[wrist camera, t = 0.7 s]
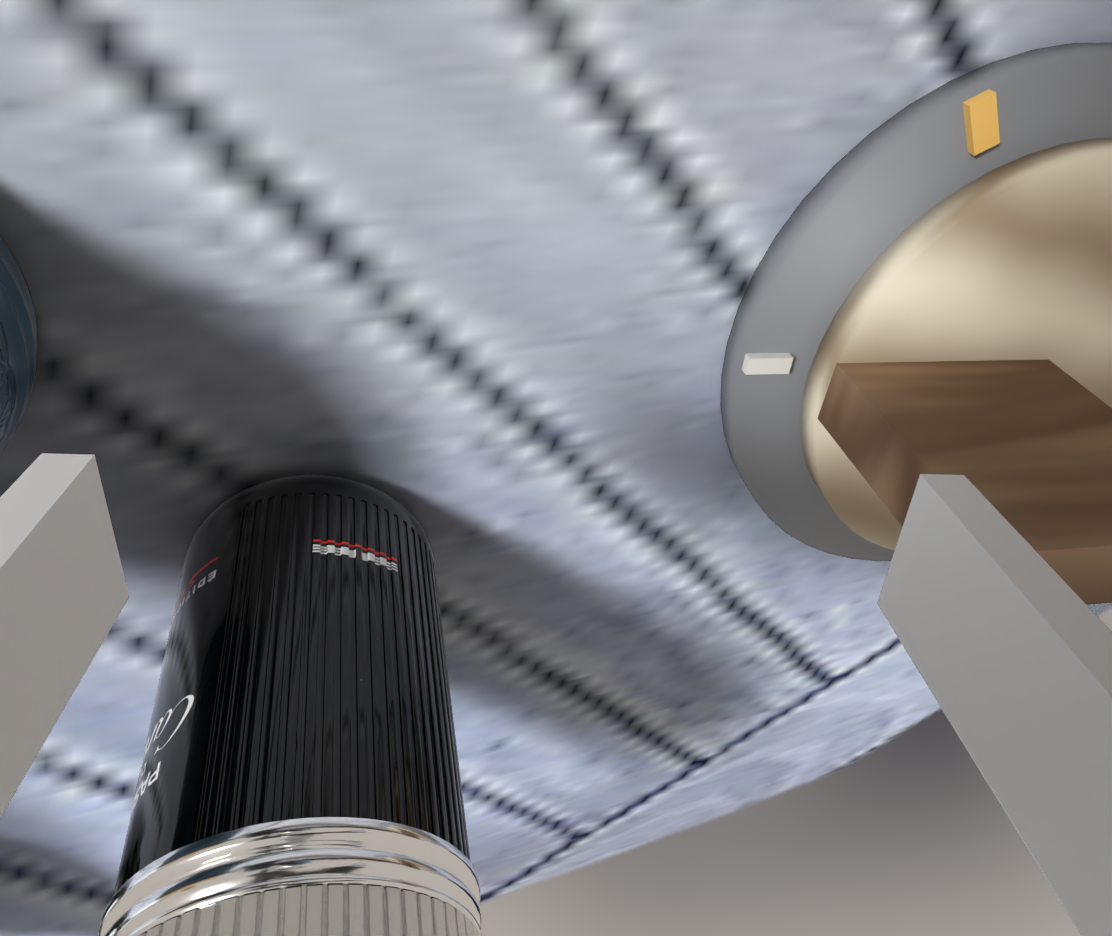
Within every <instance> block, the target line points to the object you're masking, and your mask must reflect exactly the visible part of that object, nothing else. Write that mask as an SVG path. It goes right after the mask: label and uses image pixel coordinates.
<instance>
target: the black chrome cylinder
mask: <svg viewBox="0 0 1112 936" xmlns="http://www.w3.org/2000/svg"><path fill="white" fill-rule="evenodd" d="M479 904H480V886H479V881H478V877H477V874H476V872H475V869H474V867H473V865H472V864H471V862H470V854H469V845H468V837H467V829H466V821H465V812H464V804H463V796H462V787H461V779H460V771H459V763H458V754H457V746H456V738H455V729H454V721H453V713H452V705H451V696H450V688H449V680H448V671H447V663H446V655H445V647H444V638H443V630H442V622H441V613H440V605H439V597H438V589H437V580H436V572H435V564H434V557H433V552H432V549H431V546H430V543H429V540H428V538H427V536H426V534H425V531H424V530H423V528H422V527H421V525H420V523H419V522H418V521H417V520H416V518H415V517H414V516H413V515H412V514H411V513H410V512H409V511H408V510H407V509H406V508H405V507H404V506H402V505H401V504H400V503H399V502H397V501H396V500H395V499H393V498H392V497H390V496H389V495H387V494H386V493H384V492H382V491H380V490H378V489H376V488H374V487H371V486H369V485H367V484H364V483H361V482H358V481H354V480H350V479H346V478H341V477H334V476H325V475H299V476H290V477H283V478H278V479H274V480H270V481H267V482H263V483H260V484H257V485H255V486H252V487H250V488H248V489H246V490H244V491H242V492H240V493H238V494H236V495H235V496H233V497H232V498H230V499H228V500H227V501H225V502H224V503H223V504H221V505H220V506H219V507H218V508H216V509H215V510H214V511H213V512H212V513H211V514H210V515H209V516H208V517H207V518H206V519H205V520H204V522H203V523H202V524H201V525H200V527H199V528H198V530H197V532H196V533H195V535H194V537H193V539H192V541H191V544H190V546H189V548H188V551H187V554H186V557H185V562H184V567H183V571H182V576H181V581H180V585H179V590H178V595H177V599H176V604H175V609H174V614H173V618H172V623H171V628H170V632H169V637H168V642H167V646H166V651H165V656H164V661H163V665H162V670H161V675H160V679H159V684H158V689H157V694H156V698H155V703H154V708H153V712H152V717H151V722H150V726H149V731H148V736H147V741H146V745H145V750H144V755H143V759H142V764H141V769H140V773H139V778H138V783H137V788H136V792H135V797H134V802H133V806H132V811H131V816H130V821H129V825H128V830H127V835H126V839H125V844H124V849H123V853H122V858H121V863H120V868H119V872H118V877H117V882H116V886H115V891H114V896H113V897H112V898H111V900H110V901H109V903H108V905H107V907H106V909H105V911H104V913H103V916H102V919H101V922H100V925H99V933H98V936H482V934H481V913H480V909H479Z"/></svg>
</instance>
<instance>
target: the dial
mask: <svg viewBox="0 0 1112 936" xmlns="http://www.w3.org/2000/svg"><path fill="white" fill-rule="evenodd" d="M800 433H801V445H802V450H803V454H804V459H805V463H806V466H807V468H808V470H809V473H810V475H811V477H812V479H813V481H814V483H815V484H816V486H817V487H818V489H819V490H820V492H821V493H822V494H823V496H824V497H825V499H826V500H827V502H828V503H829V504H830V506H831V507H832V509H833V510H834V512H835V513H836V514H837V516H838V517H839V519H840V520H841V521H843V522H844V523H845V524H846V525H847V526H848V527H849V528H850V529H851V530H852V531H853V532H855V533H856V534H858V535H859V536H861V537H863V538H864V539H866V540H867V541H869V542H872V543H874V544H877V545H879V546H881V547H884V548H886V549H891V550H895V548H896V545H897V542H898V539H899V536H900V533H901V530H902V527H903V524H904V521H905V518H906V515H907V512H908V509H909V506H910V503H911V500H912V497H913V494H914V491H915V488H916V485H917V482H918V479H919V476H920V474H942V475H964V476H965V477H966V478H967V479H968V480H969V481H970V482H971V483H972V484H973V485H974V486H975V487H976V488H977V489H978V490H979V491H980V492H981V494H982V495H983V496H984V497H985V498H986V499H987V500H988V501H989V502H990V503H991V504H992V505H993V506H994V507H995V508H996V509H997V511H998V512H999V513H1000V514H1001V515H1002V516H1003V517H1004V518H1005V519H1006V520H1007V521H1008V522H1009V523H1010V524H1011V525H1012V526H1013V527H1014V529H1015V530H1016V531H1017V532H1018V533H1019V534H1020V535H1021V536H1022V537H1023V538H1024V539H1025V540H1026V541H1027V542H1028V543H1029V544H1030V545H1031V547H1032V548H1033V549H1034V550H1035V551H1036V552H1037V553H1038V554H1039V555H1040V556H1041V557H1042V558H1043V559H1044V560H1045V561H1046V562H1047V563H1048V565H1049V566H1050V567H1051V568H1052V569H1053V570H1054V571H1055V572H1056V573H1057V574H1058V575H1059V576H1060V577H1061V578H1062V579H1063V580H1064V581H1065V583H1066V584H1067V585H1068V586H1069V587H1070V588H1071V589H1072V590H1073V591H1074V592H1075V593H1076V594H1077V595H1078V596H1079V597H1080V598H1081V599H1082V601H1083V602H1084V603H1085V604H1086V605H1088V604H1098V603H1109V602H1112V138H1093V139H1087V140H1081V141H1076V142H1070V143H1064V144H1060V145H1057V146H1053V147H1050V148H1047V149H1043V150H1040V151H1037V152H1034V153H1030V154H1028V155H1025V156H1023V157H1021V158H1018V159H1016V160H1014V161H1011V162H1009V163H1007V164H1005V165H1002V166H1000V167H998V168H995V169H993V170H992V171H990V172H988V173H986V174H985V175H983V176H981V177H979V178H977V179H976V180H974V181H972V182H970V183H969V184H967V185H965V186H963V187H962V188H960V189H959V190H957V191H956V192H954V193H953V194H952V195H950V196H949V197H947V198H946V199H944V200H943V201H941V202H940V203H939V204H937V205H936V206H934V207H933V208H931V209H930V210H929V211H928V212H927V213H925V214H924V215H923V216H922V217H921V218H919V219H918V220H917V221H916V222H915V223H914V224H912V225H911V226H910V227H909V228H908V229H906V230H905V231H904V232H903V233H902V234H901V235H900V236H899V237H898V238H897V239H896V240H895V241H894V242H893V243H892V244H891V245H890V246H889V247H888V248H887V249H886V250H885V251H884V252H883V253H882V254H881V255H880V256H879V257H878V258H877V259H876V260H875V261H874V263H873V264H872V265H871V266H870V268H869V269H868V270H867V271H866V272H865V274H864V275H863V276H862V277H861V279H860V280H859V281H858V282H857V283H856V285H855V286H854V287H853V289H852V290H851V292H850V293H849V295H848V296H847V298H846V299H845V301H844V302H843V304H842V305H841V307H840V308H839V310H838V311H837V313H836V314H835V316H834V317H833V319H832V321H831V323H830V325H829V327H828V329H827V331H826V333H825V335H824V336H823V338H822V340H821V342H820V344H819V347H818V349H817V352H816V354H815V357H814V360H813V362H812V365H811V367H810V370H809V373H808V377H807V381H806V385H805V389H804V393H803V398H802V407H801V416H800Z"/></svg>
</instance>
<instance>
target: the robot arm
mask: <svg viewBox="0 0 1112 936" xmlns="http://www.w3.org/2000/svg"><path fill="white" fill-rule="evenodd" d="M128 598H129V593H128V589H127V585H126V581H125V577H124V573H123V569H122V565H121V561H120V556H119V552H118V548H117V544H116V540H115V536H114V532H113V528H112V524H111V520H110V516H109V511H108V507H107V503H106V499H105V495H104V491H103V487H102V483H101V479H100V475H99V471H98V467H97V462H96V458H95V455H91V454H48V453H41V455H40V456H39V457H38V458H37V459H36V460H35V461H34V462H33V463H32V464H31V465H30V466H29V467H28V468H27V469H26V470H25V472H24V473H23V474H22V475H21V476H20V477H19V478H18V479H17V480H16V481H15V482H14V483H13V484H12V485H11V486H10V487H9V489H8V490H7V491H6V492H5V493H4V494H3V495H2V496H1V497H0V818H1V816H2V814H3V813H4V811H5V809H6V807H7V806H8V804H9V802H10V801H11V799H12V797H13V795H14V794H15V792H16V790H17V789H18V787H19V785H20V783H21V782H22V780H23V778H24V777H25V775H26V773H27V771H28V770H29V768H30V766H31V765H32V763H33V761H34V759H35V758H36V756H37V754H38V753H39V751H40V749H41V747H42V746H43V744H44V742H45V741H46V739H47V737H48V735H49V734H50V732H51V730H52V729H53V727H54V725H55V723H56V722H57V720H58V718H59V716H60V715H61V713H62V711H63V710H64V708H65V706H66V704H67V703H68V701H69V699H70V698H71V696H72V694H73V692H74V691H75V689H76V687H77V686H78V684H79V682H80V680H81V679H82V677H83V675H84V674H85V672H86V670H87V668H88V667H89V665H90V663H91V662H92V660H93V658H94V656H95V655H96V653H97V651H98V650H99V648H100V646H101V644H102V643H103V641H104V639H105V638H106V636H107V634H108V632H109V631H110V629H111V627H112V626H113V624H114V622H115V620H116V619H117V617H118V615H119V614H120V612H121V610H122V608H123V607H124V605H125V603H126V602H127V600H128ZM877 604H878V606H879V607H880V609H881V610H882V612H883V614H884V615H885V617H886V619H887V620H888V622H889V623H890V625H891V627H892V628H893V630H894V632H895V633H896V635H897V637H898V638H899V640H900V641H901V643H902V645H903V646H904V648H905V650H906V651H907V653H908V654H909V656H910V658H911V659H912V661H913V663H914V664H915V666H916V668H917V669H918V671H919V672H920V674H921V676H922V677H923V679H924V681H925V682H926V684H927V685H928V687H929V689H930V690H931V692H932V694H933V695H934V697H935V699H936V700H937V702H938V703H939V705H940V707H941V708H942V710H943V711H944V713H945V715H946V716H947V718H948V720H949V721H950V723H951V725H952V726H953V728H954V730H955V731H956V733H957V734H958V736H959V738H960V739H961V741H962V742H963V744H964V746H965V747H966V749H967V751H968V752H969V754H970V756H971V757H972V759H973V761H974V762H975V764H976V765H977V767H978V769H979V770H980V772H981V774H982V775H983V777H984V778H985V780H986V782H987V783H988V785H989V787H990V788H991V790H992V792H993V793H994V795H995V796H996V798H997V800H998V801H999V803H1000V805H1001V806H1002V808H1003V809H1004V811H1005V813H1006V814H1007V816H1008V818H1009V819H1010V821H1011V823H1012V824H1013V826H1014V827H1015V829H1016V831H1017V832H1018V834H1019V836H1020V837H1021V839H1022V840H1023V842H1024V844H1025V845H1026V847H1027V849H1028V850H1029V852H1030V853H1031V855H1032V857H1033V858H1034V860H1035V862H1036V863H1037V865H1038V867H1039V868H1040V870H1041V871H1042V873H1043V875H1044V876H1045V878H1046V880H1047V881H1048V883H1049V885H1050V886H1051V888H1052V889H1053V891H1054V892H1055V894H1056V896H1057V898H1058V899H1059V901H1060V902H1061V904H1062V906H1063V907H1064V909H1065V910H1066V912H1067V914H1068V916H1069V917H1070V919H1071V920H1072V922H1073V924H1074V925H1075V927H1076V929H1077V930H1078V932H1079V933H1080V935H1081V936H1112V631H1111V630H1110V629H1109V628H1108V627H1107V626H1106V625H1105V624H1104V623H1103V622H1102V621H1101V620H1100V619H1099V617H1098V616H1097V615H1096V614H1095V613H1094V612H1093V611H1092V610H1091V609H1090V608H1089V607H1088V606H1087V605H1086V604H1085V603H1084V602H1083V601H1082V599H1081V598H1080V597H1079V596H1078V595H1077V594H1076V593H1075V592H1074V591H1073V590H1072V589H1071V588H1070V587H1069V586H1068V585H1067V584H1066V583H1065V581H1064V580H1063V579H1062V578H1061V577H1060V576H1059V575H1058V574H1057V573H1056V572H1055V571H1054V570H1053V569H1052V568H1051V567H1050V566H1049V565H1048V563H1047V562H1046V561H1045V560H1044V559H1043V558H1042V557H1041V556H1040V555H1039V554H1038V553H1037V552H1036V551H1035V550H1034V549H1033V548H1032V547H1031V545H1030V544H1029V543H1028V542H1027V541H1026V540H1025V539H1024V538H1023V537H1022V536H1021V535H1020V534H1019V533H1018V532H1017V531H1016V530H1015V529H1014V527H1013V526H1012V525H1011V524H1010V523H1009V522H1008V521H1007V520H1006V519H1005V518H1004V517H1003V516H1002V515H1001V514H1000V513H999V512H998V511H997V509H996V508H995V507H994V506H993V505H992V504H991V503H990V502H989V501H988V500H987V499H986V498H985V497H984V496H983V495H982V494H981V492H980V491H979V490H978V489H977V488H976V487H975V486H974V485H973V484H972V483H971V482H970V481H969V480H968V479H967V478H966V477H965V476H964V475H942V474H920V476H919V479H918V482H917V485H916V488H915V491H914V494H913V497H912V500H911V503H910V506H909V509H908V512H907V515H906V518H905V521H904V524H903V527H902V530H901V533H900V536H899V539H898V542H897V545H896V548H895V551H894V554H893V557H892V560H891V563H890V566H889V569H888V572H887V575H886V578H885V581H884V584H883V587H882V590H881V593H880V596H879V599H878V602H877Z"/></svg>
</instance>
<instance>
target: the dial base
mask: <svg viewBox="0 0 1112 936" xmlns="http://www.w3.org/2000/svg"><path fill="white" fill-rule="evenodd" d="M1093 138H1112V43H1072V44H1066V45H1059V46H1053V47H1047V48H1041V49H1035V50H1031V51H1028V52H1025V53H1021V54H1018V55H1015V56H1012V57H1008V58H1005V59H1002V60H999V61H995V62H992V63H990V64H987V65H985V66H983V67H981V68H978V69H976V70H974V71H972V72H969V73H967V74H965V75H963V76H960V77H958V78H956V79H954V80H951V81H949V82H948V83H946V84H944V85H942V86H941V87H939V88H937V89H936V90H934V91H932V92H930V93H929V94H927V95H925V96H924V97H922V98H920V99H919V100H917V101H915V102H913V103H912V104H910V105H908V106H907V107H906V108H904V109H903V110H901V111H900V112H899V113H897V114H896V115H895V116H893V117H892V118H891V119H889V120H888V121H886V122H885V123H884V124H882V125H881V126H880V127H878V128H877V129H876V130H874V131H873V132H871V133H870V134H869V135H868V136H867V137H866V138H864V139H863V140H862V141H861V142H860V143H859V144H858V145H857V146H856V147H854V148H853V149H852V150H851V151H850V152H849V153H848V154H847V155H846V156H844V157H843V158H842V159H841V160H840V161H839V162H838V163H837V164H836V165H834V166H833V168H832V169H831V170H830V171H829V172H828V173H827V174H826V175H825V176H824V177H823V178H822V180H821V181H820V182H819V183H818V184H817V185H816V186H815V187H814V188H813V189H812V191H811V192H810V193H809V194H808V195H807V196H806V197H805V198H804V199H803V200H802V202H801V203H800V204H799V206H798V207H797V209H796V210H795V211H794V213H793V214H792V215H791V217H790V218H789V219H788V221H787V222H786V223H785V225H784V226H783V227H782V229H781V230H780V231H779V233H778V234H777V235H776V237H775V239H774V240H773V242H772V244H771V245H770V247H769V249H768V250H767V252H766V254H765V255H764V257H763V259H762V261H761V262H760V264H759V266H758V267H757V269H756V271H755V272H754V275H753V277H752V279H751V281H750V283H749V286H748V288H747V290H746V292H745V294H744V297H743V299H742V301H741V303H740V305H739V308H738V311H737V314H736V317H735V320H734V323H733V326H732V329H731V333H730V336H729V339H728V342H727V347H726V353H725V359H724V364H723V370H722V377H721V413H722V422H723V430H724V435H725V438H726V441H727V445H728V448H729V451H730V455H731V458H732V460H733V462H734V463H735V465H736V467H737V469H738V471H739V473H740V475H741V477H742V479H743V481H744V482H745V484H746V486H747V487H748V489H749V491H750V492H751V494H752V496H753V497H754V499H755V500H756V502H757V503H758V504H759V506H760V507H761V508H762V509H763V511H764V512H765V513H766V514H767V516H768V517H769V518H770V519H771V520H772V521H773V522H774V523H776V524H777V525H778V526H779V527H780V528H781V529H783V530H784V531H785V532H786V533H787V534H789V535H791V536H793V537H794V538H796V539H798V540H799V541H801V542H803V543H804V544H806V545H808V546H811V547H814V548H816V549H819V550H821V551H824V552H826V553H829V554H834V555H838V556H843V557H847V558H851V559H861V560H872V561H891V560H892V557H893V554H894V551H895V550H891V549H886V548H884V547H881V546H879V545H877V544H874V543H872V542H869V541H867V540H866V539H864V538H863V537H861V536H859V535H858V534H856V533H855V532H853V531H852V530H851V529H850V528H849V527H848V526H847V525H846V524H845V523H844V522H843V521H841V520H840V519H839V517H838V516H837V514H836V513H835V512H834V510H833V509H832V507H831V506H830V504H829V503H828V502H827V500H826V499H825V497H824V496H823V494H822V493H821V492H820V490H819V489H818V487H817V486H816V484H815V483H814V481H813V479H812V477H811V475H810V473H809V470H808V468H807V466H806V463H805V459H804V454H803V450H802V445H801V433H800V416H801V407H802V398H803V393H804V389H805V385H806V381H807V377H808V373H809V370H810V367H811V365H812V362H813V360H814V357H815V354H816V352H817V349H818V347H819V344H820V342H821V340H822V338H823V336H824V335H825V333H826V331H827V329H828V327H829V325H830V323H831V321H832V319H833V317H834V316H835V314H836V313H837V311H838V310H839V308H840V307H841V305H842V304H843V302H844V301H845V299H846V298H847V296H848V295H849V293H850V292H851V290H852V289H853V287H854V286H855V285H856V283H857V282H858V281H859V280H860V279H861V277H862V276H863V275H864V274H865V272H866V271H867V270H868V269H869V268H870V266H871V265H872V264H873V263H874V261H875V260H876V259H877V258H878V257H879V256H880V255H881V254H882V253H883V252H884V251H885V250H886V249H887V248H888V247H889V246H890V245H891V244H892V243H893V242H894V241H895V240H896V239H897V238H898V237H899V236H900V235H901V234H902V233H903V232H904V231H905V230H906V229H908V228H909V227H910V226H911V225H912V224H914V223H915V222H916V221H917V220H918V219H919V218H921V217H922V216H923V215H924V214H925V213H927V212H928V211H929V210H930V209H931V208H933V207H934V206H936V205H937V204H939V203H940V202H941V201H943V200H944V199H946V198H947V197H949V196H950V195H952V194H953V193H954V192H956V191H957V190H959V189H960V188H962V187H963V186H965V185H967V184H969V183H970V182H972V181H974V180H976V179H977V178H979V177H981V176H983V175H985V174H986V173H988V172H990V171H992V170H993V169H995V168H998V167H1000V166H1002V165H1005V164H1007V163H1009V162H1011V161H1014V160H1016V159H1018V158H1021V157H1023V156H1025V155H1028V154H1030V153H1034V152H1037V151H1040V150H1043V149H1047V148H1050V147H1053V146H1057V145H1060V144H1064V143H1070V142H1076V141H1081V140H1087V139H1093Z"/></svg>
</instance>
